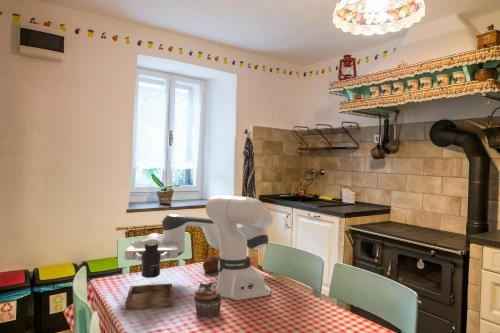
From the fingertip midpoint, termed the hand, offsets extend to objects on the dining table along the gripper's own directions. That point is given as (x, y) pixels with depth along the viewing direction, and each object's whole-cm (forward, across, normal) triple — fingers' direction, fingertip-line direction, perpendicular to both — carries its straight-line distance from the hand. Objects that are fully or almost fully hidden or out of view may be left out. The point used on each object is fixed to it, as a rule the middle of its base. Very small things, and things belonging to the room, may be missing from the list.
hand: (151, 257), depth 128 cm
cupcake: (+14, -20, -16) cm, 30 cm away
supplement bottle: (-1, 0, -7) cm, 7 cm away
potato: (-32, -27, -16) cm, 45 cm away
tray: (-1, 0, -16) cm, 16 cm away
